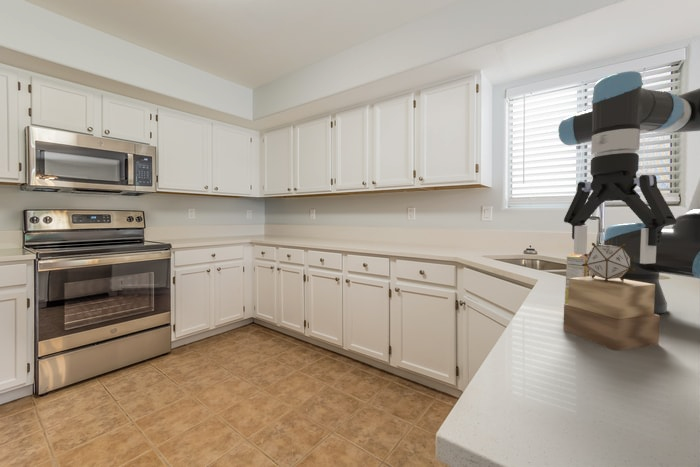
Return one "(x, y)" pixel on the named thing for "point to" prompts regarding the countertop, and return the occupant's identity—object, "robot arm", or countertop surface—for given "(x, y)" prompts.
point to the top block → (612, 296)
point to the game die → (608, 261)
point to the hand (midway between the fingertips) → (610, 258)
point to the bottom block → (612, 328)
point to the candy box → (575, 270)
